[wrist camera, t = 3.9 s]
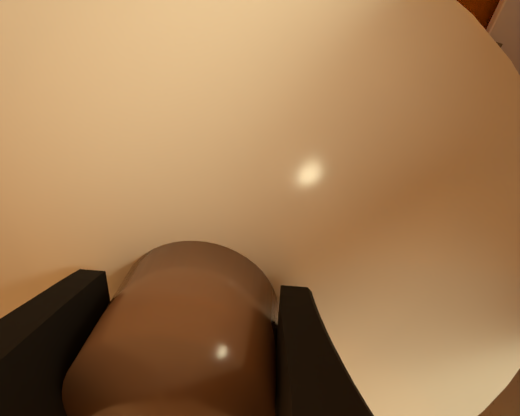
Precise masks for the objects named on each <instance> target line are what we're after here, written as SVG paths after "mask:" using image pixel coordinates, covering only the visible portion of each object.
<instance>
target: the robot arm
mask: <svg viewBox="0 0 520 416" xmlns="http://www.w3.org/2000/svg"><path fill="white" fill-rule="evenodd" d="M486 31H487V32H488V33H489V35H490V36H491V37H492V38H493V39H494V41H495V42H498V43H501V44H503V45H502V47H501V49H502V50H503V51H504V53H505V54H506V55H507V56H508V58H509V59H510V60H511V61H512V63H513V65H514V67H515V68H516V70H517V72H518V74H519V75H520V0H500V1H499V4H498V6H497V8H496V10H495V12H494V14H493V16H492V18H491V20H490V22H489V24H488V26H487V28H486ZM109 303H110V296H109V290H108V284H107V278H106V272H105V271H98V270H85V269H79V270H77V271H76V272H74V273H72V274H70V275H69V276H67V277H65V278H64V279H62V280H60V281H59V282H57V283H56V284H54V285H52V286H51V287H49V288H48V289H46V290H45V291H43V292H41V293H40V294H38V295H37V296H35V297H34V298H32V299H30V300H29V301H27V302H26V303H24V304H23V305H21V306H19V307H18V308H16V309H15V310H13V311H11V312H10V313H8V314H7V315H5V316H3V317H2V318H0V416H67V414H66V412H65V409H64V405H63V401H62V387H63V381H64V379H65V376H66V373H67V372H68V370H69V368H70V367H71V365H72V363H73V362H74V360H75V358H76V357H77V355H78V353H79V352H80V350H81V349H82V347H83V345H84V344H85V342H86V340H87V339H88V337H89V335H90V334H91V332H92V331H93V329H94V327H95V326H96V324H97V322H98V321H99V319H100V317H101V316H102V314H103V312H104V311H105V309H106V308H107V306H108V304H109ZM275 416H374V415H373V413H372V412H371V410H370V409H369V407H368V405H367V404H366V402H365V400H364V399H363V397H362V395H361V394H360V392H359V390H358V389H357V387H356V385H355V384H354V382H353V380H352V378H351V377H350V375H349V373H348V371H347V369H346V368H345V366H344V364H343V362H342V360H341V358H340V356H339V354H338V352H337V350H336V348H335V346H334V344H333V343H332V340H331V338H330V336H329V334H328V332H327V330H326V328H325V325H324V323H323V321H322V319H321V316H320V314H319V311H318V309H317V306H316V303H315V300H314V297H313V294H312V291H311V290H310V289H309V288H308V287H299V286H286V285H281V287H280V299H279V312H278V324H277V344H276V397H275Z"/></svg>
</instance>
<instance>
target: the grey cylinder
mask: <svg viewBox="0 0 520 416" xmlns="http://www.w3.org/2000/svg"><path fill="white" fill-rule="evenodd" d="M478 416H520V369H519V370H518V371H517V373H516V374H515V376H514V377H513V378H512V380H511V381H510V383H509V384H508V385H507V386H506V388H505V389H504V390H503V391H502V392H501V393H500V394H499V395H498V396H497V397H496V398H495V399H494V400H493V401H492V402H491V403H490V404H489V406H488V407H487V408H486V409H485V410H484V411H483V412H481V413H480V414H479V415H478Z"/></svg>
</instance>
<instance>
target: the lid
mask: <svg viewBox="0 0 520 416" xmlns="http://www.w3.org/2000/svg"><path fill="white" fill-rule="evenodd" d="M79 269H85V270H98V271H105V272H106V278H107V284H108V290H109V296H110V303H109V304H108V306H107V308H106V309H105V311H104V312H103V314H102V316H101V317H100V319H99V321H98V322H97V324H96V326H95V327H94V329H93V331H92V332H91V334H90V335H89V337H88V339H87V340H86V342H85V344H84V345H83V347H82V349H81V350H80V352H79V353H78V355H77V357H76V358H75V360H74V362H73V363H72V365H71V367H70V368H69V370H68V372H67V373H66V376H65V379H64V381H63V387H62V401H63V405H64V409H65V412H66V414H67V416H275V397H276V344H277V324H278V312H279V299H280V287H281V285H286V286H299V287H308V288H309V289H310V290H311V291H312V294H313V297H314V300H315V303H316V306H317V309H318V311H319V314H320V316H321V319H322V321H323V323H324V325H325V328H326V330H327V332H328V334H329V336H330V338H331V340H332V343H333V344H334V346H335V348H336V350H337V352H338V354H339V356H340V358H341V360H342V362H343V364H344V366H345V368H346V369H347V371H348V373H349V375H350V377H351V378H352V380H353V382H354V384H355V385H356V387H357V389H358V390H359V392H360V394H361V395H362V397H363V399H364V400H365V402H366V404H367V405H368V407H369V409H370V410H371V412H372V413H373V415H374V416H478V415H479V414H480V413H481V412H483V411H484V410H485V409H486V408H487V407H488V406H489V404H490V403H491V402H492V401H493V400H494V399H495V398H496V397H497V396H498V395H499V394H500V393H501V392H502V391H503V390H504V389H505V388H506V386H507V385H508V384H509V383H510V381H511V380H512V378H513V377H514V376H515V374H516V373H517V371H518V370H519V369H520V75H519V74H518V72H517V70H516V68H515V67H514V65H513V63H512V61H511V60H510V59H509V58H508V56H507V55H506V54H505V53H504V51H503V50H502V49H501V48H500V47H499V45H498V44H497V43H496V42H495V41H494V39H493V38H492V37H491V36H490V35H489V33H488V32H487V31H486V30H485V28H484V27H483V26H482V25H481V24H480V22H479V21H478V20H477V19H476V18H475V16H474V15H473V14H472V13H471V12H469V11H468V10H467V9H466V8H465V7H464V6H462V5H461V4H460V3H459V2H458V1H457V0H0V318H2V317H3V316H5V315H7V314H8V313H10V312H11V311H13V310H15V309H16V308H18V307H19V306H21V305H23V304H24V303H26V302H27V301H29V300H30V299H32V298H34V297H35V296H37V295H38V294H40V293H41V292H43V291H45V290H46V289H48V288H49V287H51V286H52V285H54V284H56V283H57V282H59V281H60V280H62V279H64V278H65V277H67V276H69V275H70V274H72V273H74V272H76V271H77V270H79Z"/></svg>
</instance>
